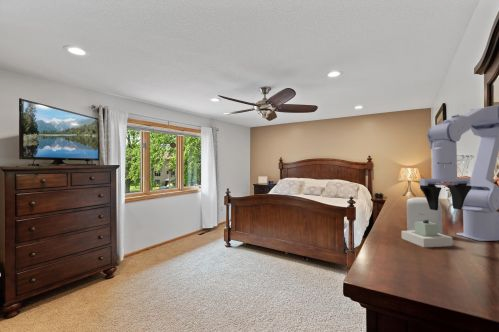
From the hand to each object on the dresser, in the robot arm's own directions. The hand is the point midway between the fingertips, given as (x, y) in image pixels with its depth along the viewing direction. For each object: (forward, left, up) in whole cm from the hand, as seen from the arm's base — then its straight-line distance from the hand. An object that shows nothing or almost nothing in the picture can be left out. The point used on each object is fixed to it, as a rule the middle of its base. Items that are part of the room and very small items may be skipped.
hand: (445, 209), depth 72 cm
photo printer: (-4, -13, -11) cm, 17 cm away
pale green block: (+4, -3, -10) cm, 12 cm away
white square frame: (+4, -3, -10) cm, 12 cm away
